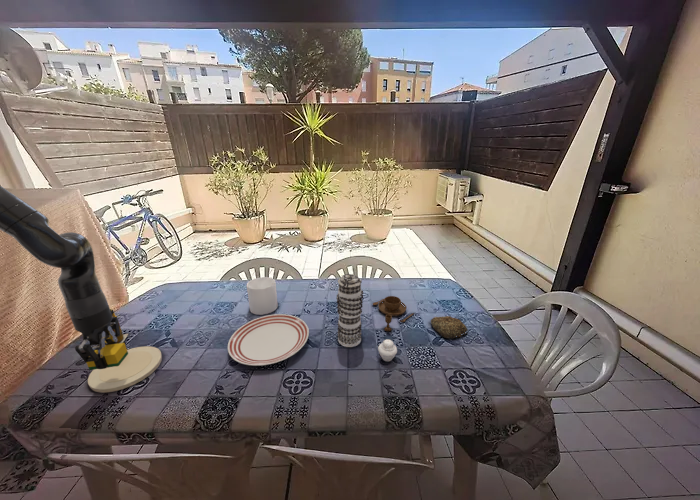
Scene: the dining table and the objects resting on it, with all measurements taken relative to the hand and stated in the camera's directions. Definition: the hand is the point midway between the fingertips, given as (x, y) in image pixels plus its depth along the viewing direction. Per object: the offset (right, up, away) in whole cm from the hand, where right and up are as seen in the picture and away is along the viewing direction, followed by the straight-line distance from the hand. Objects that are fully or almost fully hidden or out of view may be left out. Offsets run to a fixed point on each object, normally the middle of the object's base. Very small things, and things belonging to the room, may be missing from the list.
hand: (109, 360), depth 76 cm
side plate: (-1, -6, +8) cm, 10 cm away
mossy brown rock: (+107, +1, +28) cm, 110 cm away
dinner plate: (+40, -2, +20) cm, 45 cm away
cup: (+30, +6, +42) cm, 52 cm away
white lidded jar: (+80, -5, +13) cm, 82 cm away
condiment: (-16, -2, +20) cm, 26 cm away
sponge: (0, 0, 0) cm, 0 cm away
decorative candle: (+68, -1, +22) cm, 72 cm away
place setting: (+84, +4, +38) cm, 92 cm away
